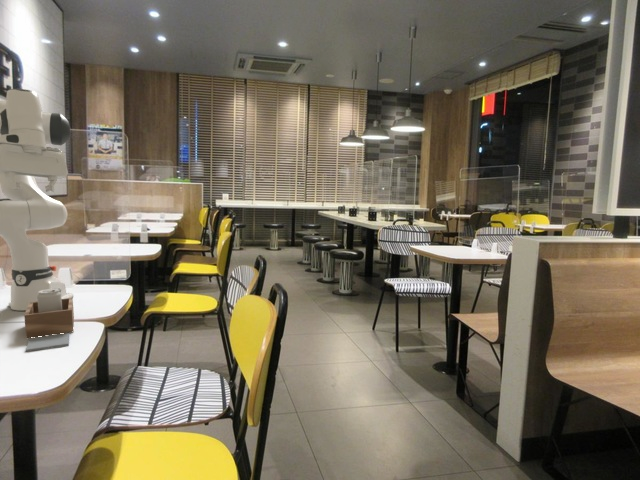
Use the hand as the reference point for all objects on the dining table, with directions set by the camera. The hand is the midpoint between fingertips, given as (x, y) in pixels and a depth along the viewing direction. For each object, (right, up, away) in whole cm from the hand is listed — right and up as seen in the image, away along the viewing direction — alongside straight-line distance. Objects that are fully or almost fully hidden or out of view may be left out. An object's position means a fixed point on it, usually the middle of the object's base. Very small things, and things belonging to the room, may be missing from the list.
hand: (33, 190), depth 127 cm
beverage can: (-2, -42, +11) cm, 44 cm away
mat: (+6, -44, -2) cm, 44 cm away
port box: (-2, -42, +11) cm, 43 cm away
